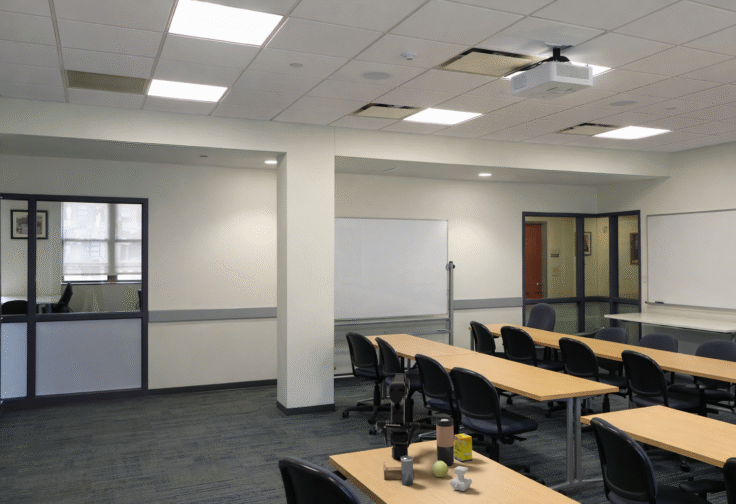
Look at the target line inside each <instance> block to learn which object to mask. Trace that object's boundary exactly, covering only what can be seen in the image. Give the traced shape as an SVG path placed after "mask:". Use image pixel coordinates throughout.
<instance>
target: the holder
mask: <svg viewBox="0 0 736 504" xmlns="http://www.w3.org/2000/svg"><path fill="white" fill-rule="evenodd" d="M382 463H383V464H382V465H383V477H384V480H386V481H387V480H402V479H401V466H397V467H396V466H395V467H394V466H391V467H390V466H388V467H386V461H383V462H382Z"/></svg>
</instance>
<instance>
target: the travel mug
mask: <svg viewBox="0 0 736 504" xmlns="http://www.w3.org/2000/svg"><path fill="white" fill-rule="evenodd" d="M435 423H436V425H435V426H436V428H435V429H436V455H437V456H436V457H437V461H443V462H444V463H446V465H447V467H448V468H449V467H453V466H454V465H455V458H454V435H455V433H454V418H452V417H450V416H440V417H437V418H436V422H435Z"/></svg>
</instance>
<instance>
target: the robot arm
mask: <svg viewBox="0 0 736 504" xmlns="http://www.w3.org/2000/svg"><path fill="white" fill-rule="evenodd" d="M410 384H411V383H410V378H408V377H407V376H406V373H405V372H404V373H401V372H400V373H398V372H397V373H395V374H394V377H393V378H391V383H390V384H389V386H388V396H389V401H390V419H385V420H377V421H376V423H375V431H378V433H380V434H381V435H382V437H383V441H384V444H385V447H388V431H387V429H388V430H390V431H389V432H390V446H392V447H391V457H392V458H393V459H394V460H396V461H401V457H402V456H409V450H408V449H409V447H410V445H412V443H411V442H412V438H413V437H414V435H416V434H418V433H419V432H420V429H421V425H420V423H419V422H410V423H409V424H406V423H405V412H406V409H405V407H406V398H407V397H408V395H409V391H410V386H411V385H410Z"/></svg>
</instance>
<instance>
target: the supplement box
mask: <svg viewBox="0 0 736 504" xmlns="http://www.w3.org/2000/svg"><path fill="white" fill-rule="evenodd" d="M472 437H473V436H472V435H471V436H470V435H468V434H467V433H458V434H454V460H457V461H459V462H460V463H467V462H471V461H473V438H472Z"/></svg>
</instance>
